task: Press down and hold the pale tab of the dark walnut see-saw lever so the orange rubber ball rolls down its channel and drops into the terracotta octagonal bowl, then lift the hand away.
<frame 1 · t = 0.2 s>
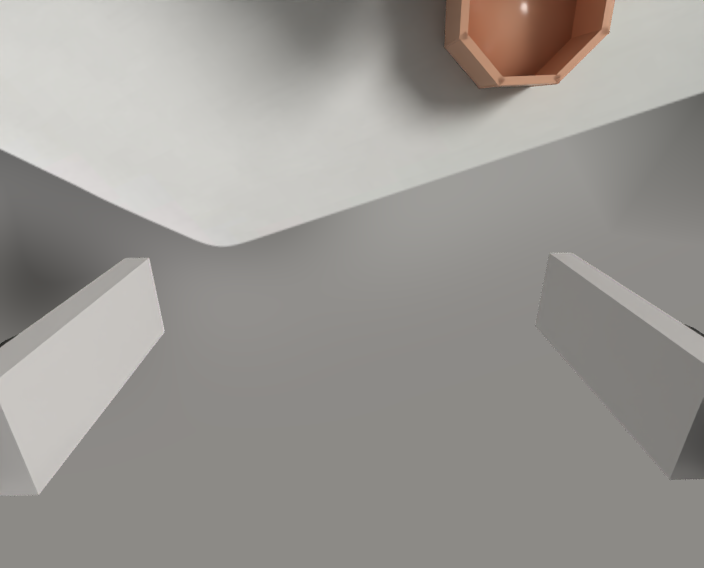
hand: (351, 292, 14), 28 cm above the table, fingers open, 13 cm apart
terracotta octagonal bowl: (512, 12, 35), on the table
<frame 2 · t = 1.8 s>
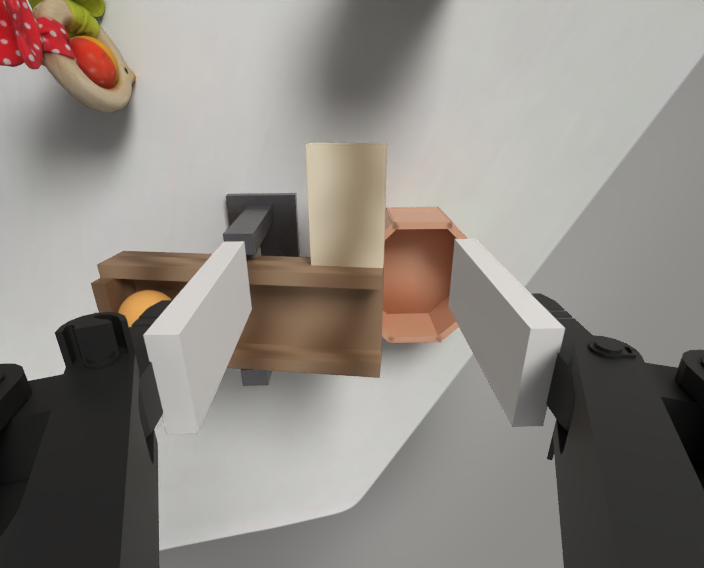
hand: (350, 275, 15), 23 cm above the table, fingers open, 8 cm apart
lever: (246, 262, 30), point 9 cm above the table, hinge at -8.0°, touching ball
terracotta octagonal bowl: (409, 265, 40), on the table
ball: (148, 317, 30), point 10 cm above the table, tilted 15°, touching lever
lever stand: (268, 266, 40), on the table
bird rattle: (110, 48, 33), on the table
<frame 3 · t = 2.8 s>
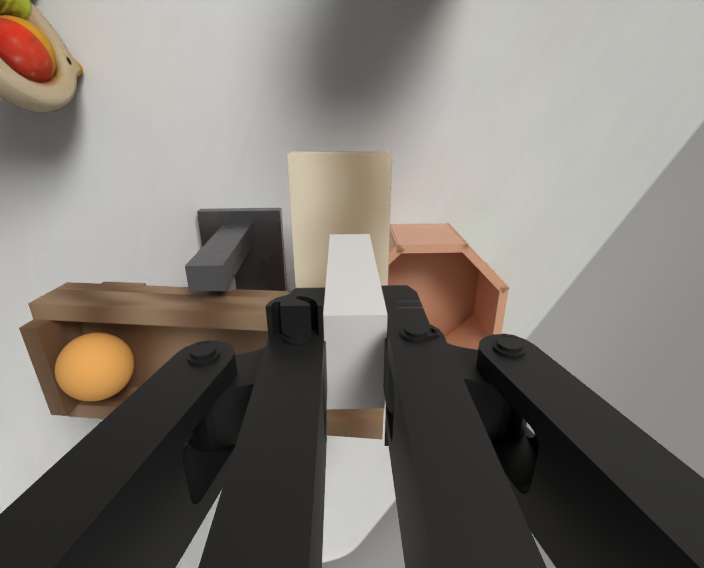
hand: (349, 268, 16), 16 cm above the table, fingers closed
lever: (216, 297, 24), point 9 cm above the table, hinge at -8.0°, touching ball
terracotta octagonal bowl: (414, 290, 34), on the table
ball: (96, 366, 25), point 10 cm above the table, tilted 15°, touching lever
lever stand: (250, 293, 34), on the table
bird rattle: (50, 33, 27), on the table
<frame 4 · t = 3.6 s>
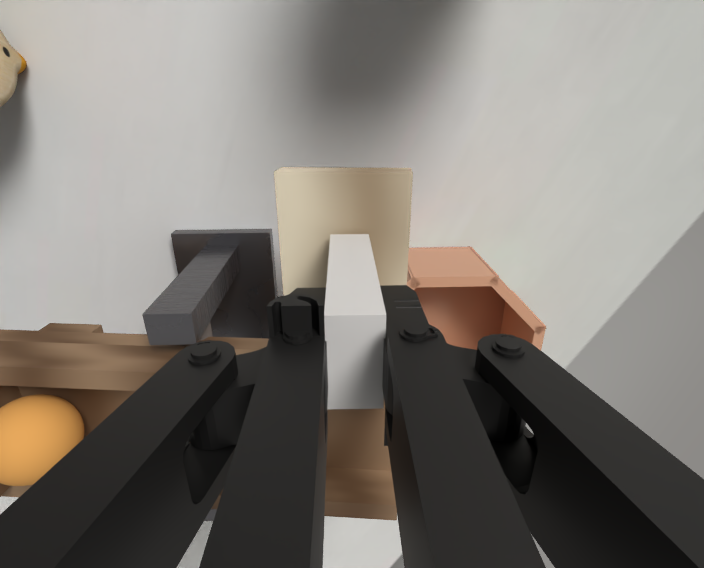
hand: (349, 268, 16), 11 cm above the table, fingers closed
lever: (187, 348, 19), point 9 cm above the table, hinge at -6.0°, touching ball, gripper
terracotta octagonal bowl: (429, 322, 29), on the table
ball: (33, 438, 19), point 10 cm above the table, tilted 13°, touching lever
lever stand: (236, 326, 29), on the table
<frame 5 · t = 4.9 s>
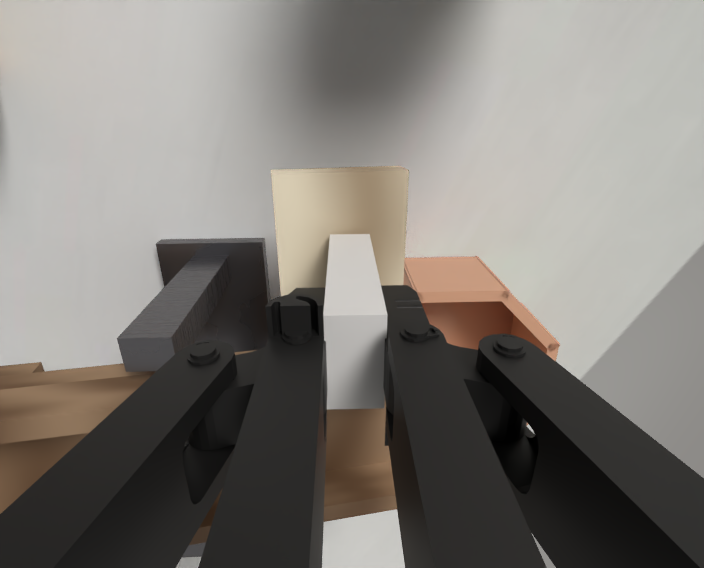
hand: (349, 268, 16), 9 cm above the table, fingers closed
lever: (167, 373, 18), point 9 cm above the table, hinge at 8.5°, touching gripper
terracotta octagonal bowl: (432, 336, 28), on the table
lever stand: (227, 341, 27), on the table
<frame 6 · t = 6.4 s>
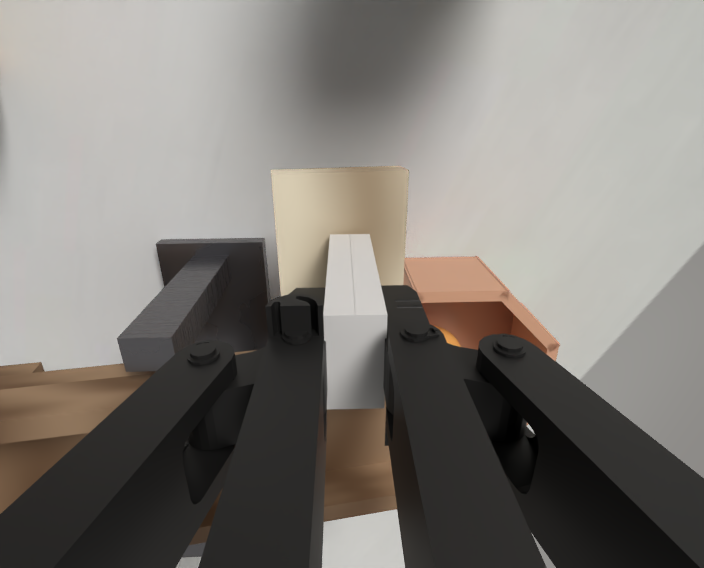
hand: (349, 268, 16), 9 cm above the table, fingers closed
lever: (167, 373, 18), point 9 cm above the table, hinge at 8.5°, touching gripper
terracotta octagonal bowl: (432, 336, 28), on the table
lever stand: (227, 341, 27), on the table
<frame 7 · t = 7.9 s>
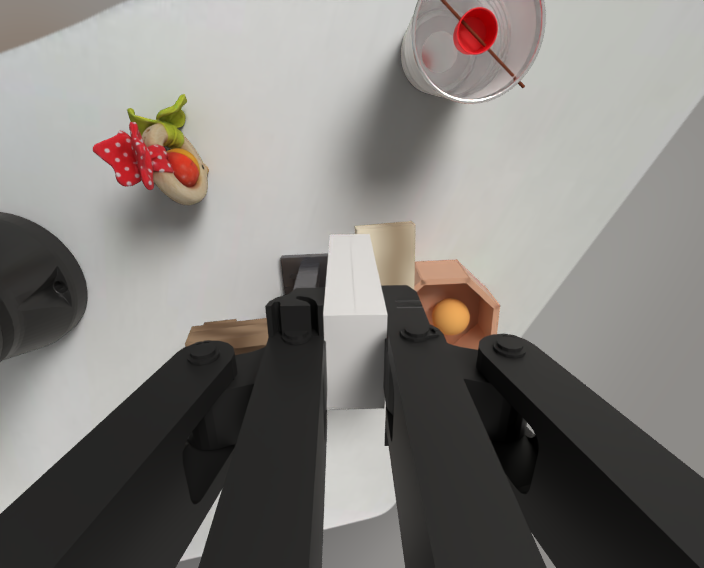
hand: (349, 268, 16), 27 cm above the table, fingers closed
lever: (304, 320, 38), point 9 cm above the table, hinge at 8.5°
terracotta octagonal bowl: (433, 307, 47), on the table
white ridged hollow cylinder: (438, 52, 37), on the table
ball: (450, 316, 45), point 2 cm above the table, tilted 106°, touching terracotta octagonal bowl
lever stand: (315, 312, 47), on the table
bird rattle: (188, 147, 40), on the table
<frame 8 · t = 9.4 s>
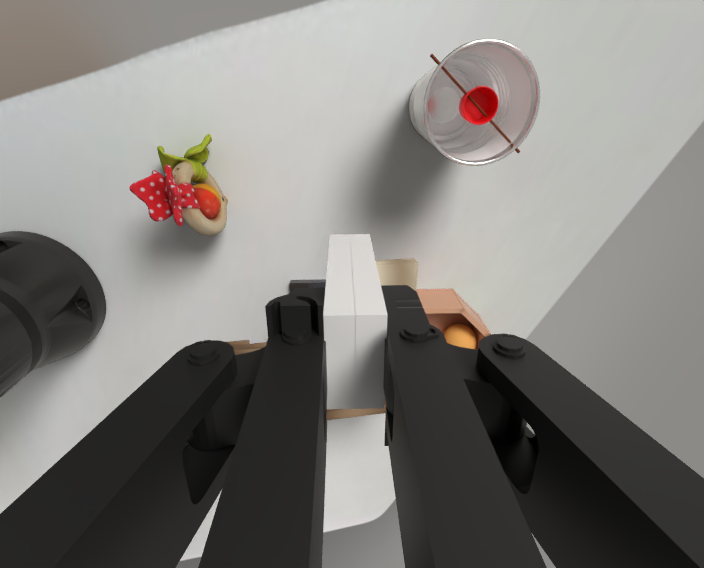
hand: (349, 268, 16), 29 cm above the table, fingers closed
lever: (313, 344, 41), point 9 cm above the table, hinge at 8.5°
terracotta octagonal bowl: (429, 330, 51), on the table
white ridged hollow cylinder: (443, 105, 41), on the table
ball: (458, 341, 49), point 2 cm above the table, tilted 59°, touching terracotta octagonal bowl
bird rattle: (209, 180, 44), on the table
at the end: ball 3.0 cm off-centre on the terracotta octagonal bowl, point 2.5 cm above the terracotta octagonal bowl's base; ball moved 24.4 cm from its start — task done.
